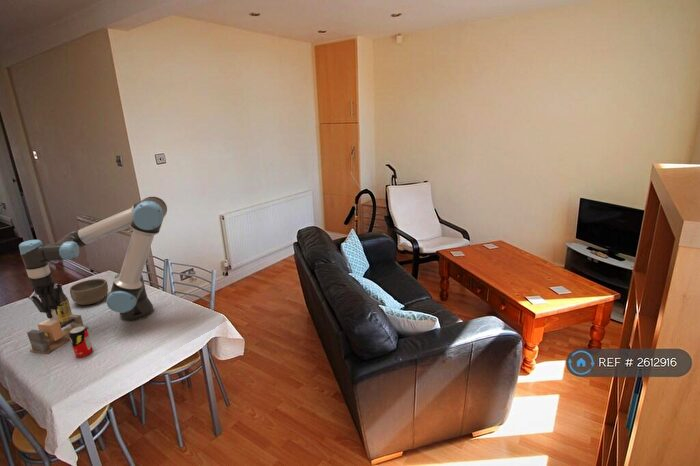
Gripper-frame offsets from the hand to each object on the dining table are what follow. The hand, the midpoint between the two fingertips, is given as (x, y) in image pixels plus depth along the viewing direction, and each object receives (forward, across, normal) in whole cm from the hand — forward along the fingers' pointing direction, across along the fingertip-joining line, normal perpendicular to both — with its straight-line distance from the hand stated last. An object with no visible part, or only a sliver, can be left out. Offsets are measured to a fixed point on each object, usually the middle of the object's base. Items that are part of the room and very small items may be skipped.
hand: (55, 322), depth 165 cm
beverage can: (+9, +7, +21) cm, 23 cm away
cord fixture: (+9, 0, 0) cm, 9 cm away
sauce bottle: (+9, -13, -11) cm, 20 cm away
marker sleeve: (+6, +3, 0) cm, 6 cm away
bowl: (+9, -34, -18) cm, 39 cm away
